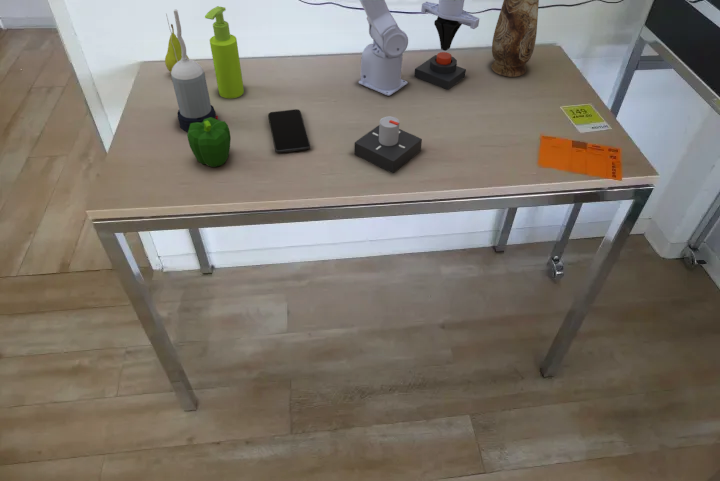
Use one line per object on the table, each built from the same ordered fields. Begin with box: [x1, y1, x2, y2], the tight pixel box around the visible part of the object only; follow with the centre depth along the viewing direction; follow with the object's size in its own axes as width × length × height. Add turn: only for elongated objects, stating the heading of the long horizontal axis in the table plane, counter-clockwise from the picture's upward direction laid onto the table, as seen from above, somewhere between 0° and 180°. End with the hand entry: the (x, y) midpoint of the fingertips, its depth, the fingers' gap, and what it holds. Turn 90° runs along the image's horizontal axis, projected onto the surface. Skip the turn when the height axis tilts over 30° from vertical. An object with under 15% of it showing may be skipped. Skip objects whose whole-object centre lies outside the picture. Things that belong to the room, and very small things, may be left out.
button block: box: [413, 54, 467, 90], centre depth 140 cm, size 10×8×4 cm
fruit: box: [164, 23, 190, 73], centre depth 135 cm, size 6×6×12 cm
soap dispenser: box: [204, 5, 245, 99], centre depth 127 cm, size 6×7×20 cm
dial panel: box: [353, 124, 423, 174], centre depth 117 cm, size 10×10×3 cm
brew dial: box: [378, 116, 401, 146], centre depth 114 cm, size 4×4×5 cm
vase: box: [491, 0, 540, 78], centre depth 134 cm, size 10×11×30 cm
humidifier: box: [165, 9, 219, 133], centre depth 116 cm, size 8×8×25 cm
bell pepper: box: [186, 117, 232, 168], centre depth 112 cm, size 8×8×10 cm
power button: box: [436, 51, 453, 65], centre depth 138 cm, size 4×4×2 cm
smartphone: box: [267, 109, 311, 154], centre depth 122 cm, size 7×1×15 cm
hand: (445, 48), depth 136 cm, fingers closed
